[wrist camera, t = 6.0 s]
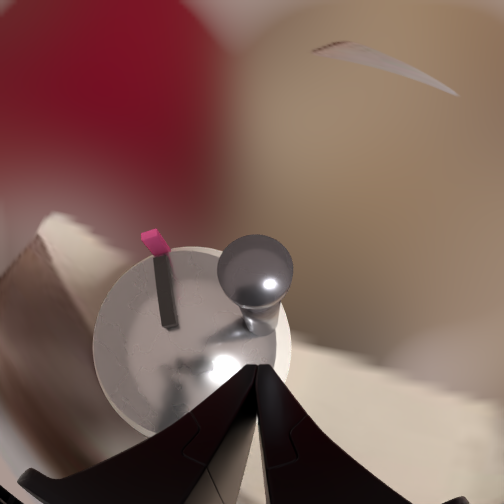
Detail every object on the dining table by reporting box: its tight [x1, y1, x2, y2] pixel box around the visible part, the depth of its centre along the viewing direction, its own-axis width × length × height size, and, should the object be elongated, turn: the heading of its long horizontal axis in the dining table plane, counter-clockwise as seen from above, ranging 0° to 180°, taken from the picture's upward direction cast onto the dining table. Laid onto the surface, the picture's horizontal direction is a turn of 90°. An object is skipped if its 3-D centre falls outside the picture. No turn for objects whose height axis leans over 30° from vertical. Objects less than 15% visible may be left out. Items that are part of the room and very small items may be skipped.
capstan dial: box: [93, 235, 293, 433], centre depth 14 cm, size 13×14×10 cm
